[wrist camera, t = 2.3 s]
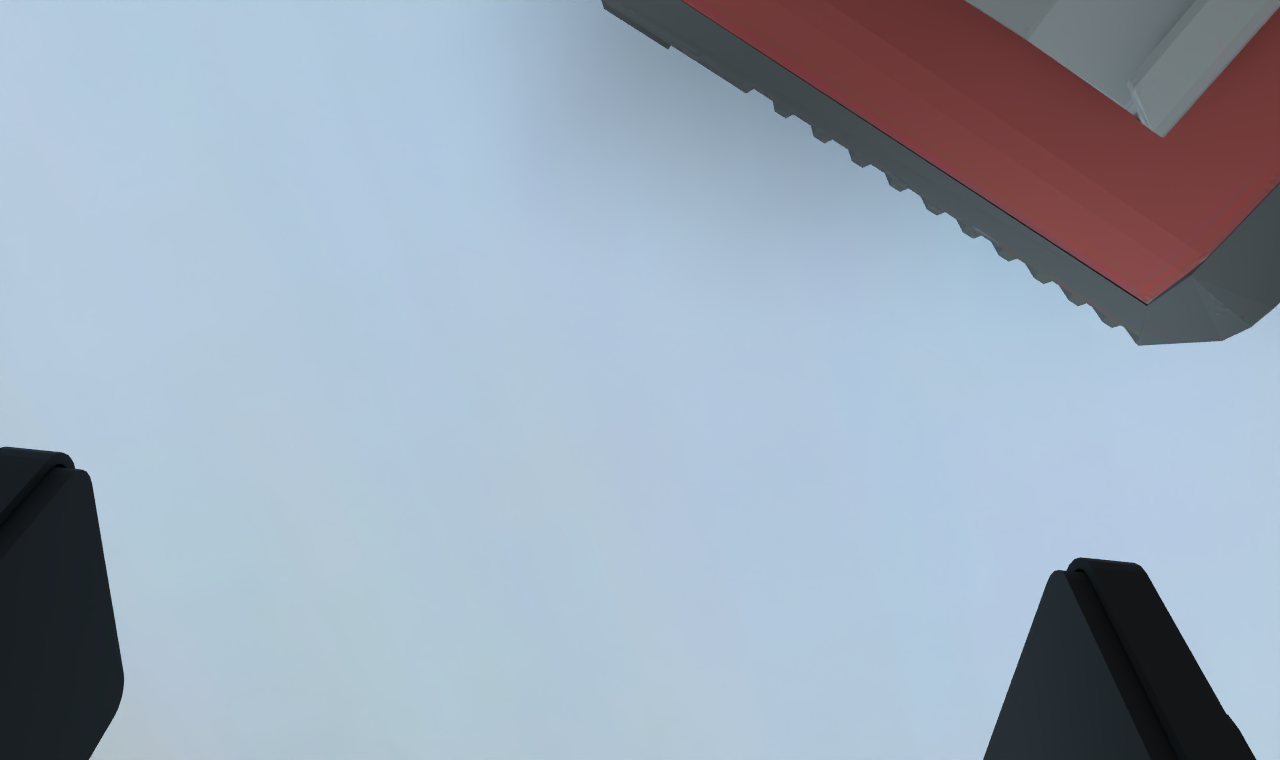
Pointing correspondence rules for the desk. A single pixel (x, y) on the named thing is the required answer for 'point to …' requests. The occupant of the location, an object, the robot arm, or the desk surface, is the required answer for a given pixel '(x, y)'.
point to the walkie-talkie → (1043, 131)
